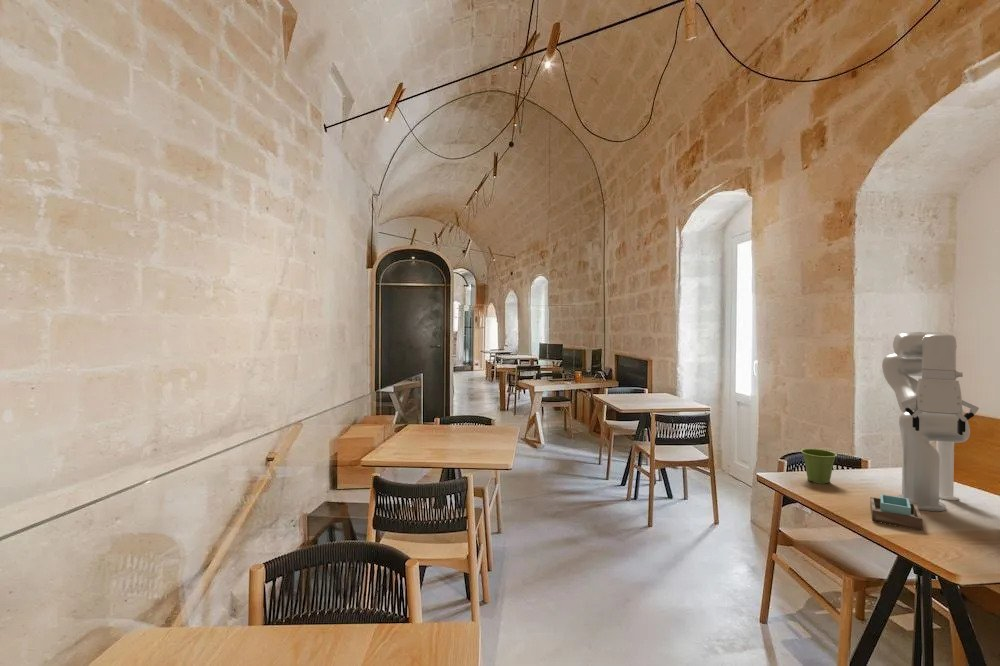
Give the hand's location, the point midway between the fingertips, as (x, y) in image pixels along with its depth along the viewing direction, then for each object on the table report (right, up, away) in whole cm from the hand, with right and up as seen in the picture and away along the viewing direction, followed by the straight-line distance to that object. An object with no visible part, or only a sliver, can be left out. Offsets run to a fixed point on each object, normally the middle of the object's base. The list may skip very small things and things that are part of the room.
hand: (938, 432), depth 145 cm
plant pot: (-8, -28, +43) cm, 52 cm away
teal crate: (-9, -28, +5) cm, 29 cm away
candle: (+25, -28, +25) cm, 46 cm away
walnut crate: (-8, -28, +6) cm, 30 cm away
